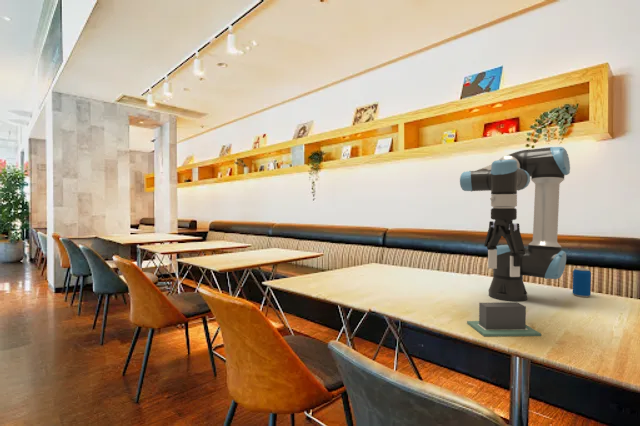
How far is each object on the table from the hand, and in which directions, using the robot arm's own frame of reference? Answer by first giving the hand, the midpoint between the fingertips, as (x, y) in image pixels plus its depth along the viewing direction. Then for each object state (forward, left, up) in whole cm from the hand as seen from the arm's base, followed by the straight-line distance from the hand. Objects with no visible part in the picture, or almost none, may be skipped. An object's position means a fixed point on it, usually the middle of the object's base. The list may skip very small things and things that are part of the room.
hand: (502, 272), depth 116 cm
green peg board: (0, +1, -19) cm, 19 cm away
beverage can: (-58, -40, -19) cm, 73 cm away
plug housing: (0, +1, -18) cm, 18 cm away
